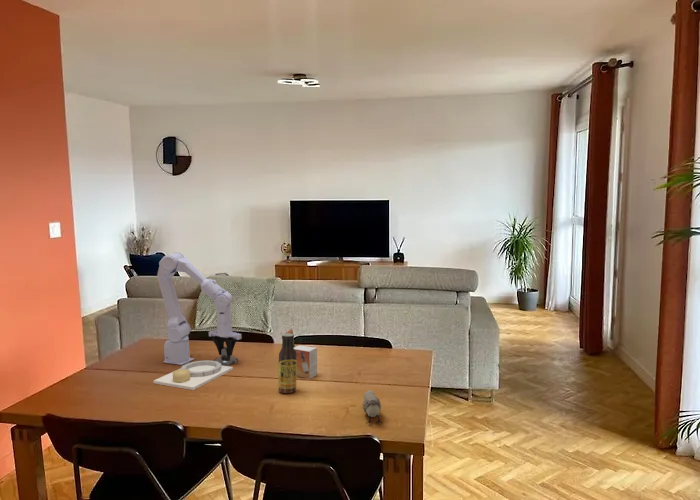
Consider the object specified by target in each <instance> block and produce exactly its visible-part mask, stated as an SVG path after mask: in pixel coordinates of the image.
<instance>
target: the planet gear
mask: <svg viewBox="0 0 700 500" xmlns="http://www.w3.org/2000/svg"><path fill="white" fill-rule="evenodd" d="M213 361H218V362H219V363H221V365H222V366H229V367H230V365H233V364H234V365H236V364H237V363H238V361H239V358H238V357H235V355H231V356H228V355H227V346H224V347H221V355H220V356H219V357H215V358H214V360H213Z"/></svg>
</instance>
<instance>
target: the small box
mask: <svg viewBox="0 0 700 500" xmlns="http://www.w3.org/2000/svg"><path fill="white" fill-rule="evenodd" d="M294 349H295V351H296V357H297V377H298V378H303V379H307V380H310V379H312V378H314V377H316V376H317V375H318V347H313V346H306V345H301V344H299V345H297V346H295V347H294Z"/></svg>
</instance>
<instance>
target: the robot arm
mask: <svg viewBox="0 0 700 500" xmlns="http://www.w3.org/2000/svg"><path fill="white" fill-rule="evenodd" d="M158 265H159V267H158V270H157V274H156V276H157V281H158V286H159V289H160V292H161V296H162V300H163V304H164V308H165V310H166V315H167V318H168V320H167V324H166V327H167V333H166V335H167V338H168V339H167V340H166V341H165V342H164V346H163V350H164V351H163V352H164V354H163V355H164V360H163V361H162V362H163V363H165V364H172V365H180V366H183V365H185V364H188V363H190V362H193V361H194V360H195V358H194V357H190V342H189V340H190V338H189V334H190V333H191V330H192V329H191V325H190V324H189V322H188V321H187V319H186V317H185V316H184V315H183V313H182V309H181V306H180V302H179V299H178V295H177V291H176V287H175V284H174V281H173V280H174V279H173V277H174V275H175V274H176V273H177V272H179V273H185V274H186V275H188V276H189V277H190V278H192V279H193V281H195V282H196V283H198V284H199V286H200V290H201V291H202V292H203V293H205V294H206V295H207V296H208V297H209V298H210V299H211V300H212V301H213V305H214V306H215V307H216V328H217V329H216V330H210V331H208V337H214V338H212V342H213V343H214V344H215V345H214V346H215V347H216V349H217V352H218V355H219V356H221V347H224V345H226V346H227V355H228V356H233V353H234V348H235V345H236V343H237V341H239V340H242V333H239V332H234V331H233V320H232V319H233V318H232V304H231V303H232V302H233V301H234V300H233V295H232V294H231V292H230V291H228V290H226V289H225V288H222V287H221V286H220V285H219V284H218V283H217V281H216V279H212V278H207V277H205V275H204V274H203V273H201V271H199V269H197V267H195V266H194V264H193V263H192V262H191V261H190V260H189V259H188V258H187V257H186V256H185V255H184V254H182V253H181V252H174V253H172V254H166V255H164V256H163V257H161V260H160V261H159V262H158Z"/></svg>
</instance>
